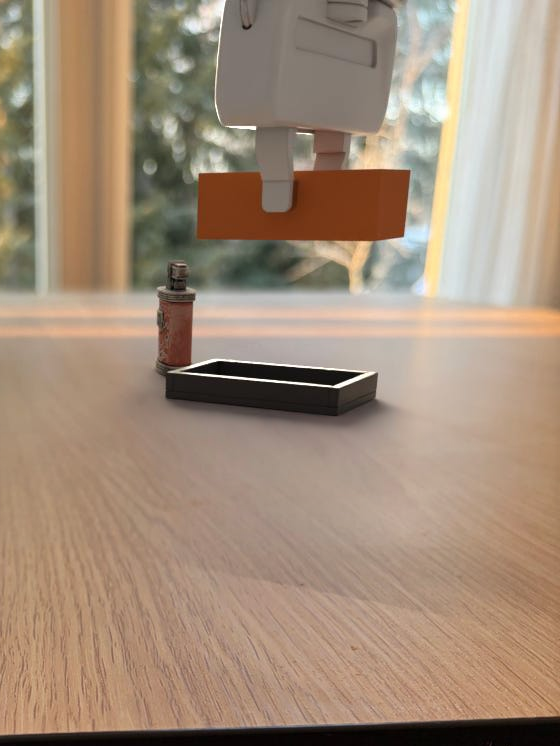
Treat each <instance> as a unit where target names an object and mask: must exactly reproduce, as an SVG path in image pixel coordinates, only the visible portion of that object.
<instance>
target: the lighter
mask: <svg viewBox="0 0 560 746" xmlns="http://www.w3.org/2000/svg"><path fill="white" fill-rule="evenodd" d="M189 271H190V269H189V266H188V265H187V262H186V260H168V261H167V263H166V280H165V286H157V288H156V296H157V298H158V308H157V309H156V326H157V327H158V329H157V331H158V332H157V333H158V336H157V356H156V357H155V370H156V372H158V373H159V374H161V375H164V376H166V372H169V371H173V370H176V369H180V368H184V367H187V366H191V365H194V362H193V360H192V353H193V352H192V351H193V325H194V324H193V323H194V319H193V318H194V302H195V301H196V296H197V295H196V294H197V291H196V290H195V289H194V288H192V287H187V280H189Z"/></svg>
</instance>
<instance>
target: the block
mask: <svg viewBox="0 0 560 746" xmlns="http://www.w3.org/2000/svg"><path fill="white" fill-rule="evenodd" d="M411 173H412V171H411V169H395V168H366V169H365V168H363V169H362V168H361V169H360V168H358V169H357V168H356V169H344V170H313V169H312V170H294V180H293V181H298V195H297V206H296V207H295V209H294V210H293V211H291V212H266V211H264V210H263V208H262V188H263V181H262V179H261V174H260V171H230V172H229V171H228V172H226V171H225V172H199V173H198V176H197V177H198V180H197V208H196V209H197V213H196V239H197V240H219V241H220V240H222V241H224V240H226V241H227V240H228V241H231V240H232V241H303V242H304V241H305V242H306V241H309V242H311V241H313V242H315V241H316V242H319V241H320V242H380V241H386V240H387V241H388V240H394V239H400V238H401V239H402V238H404V237H405V231H406V222H407V211H408V202H409V194H410V193H409V192H410V183H411V182H410V181H411Z"/></svg>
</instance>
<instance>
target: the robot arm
mask: <svg viewBox="0 0 560 746" xmlns="http://www.w3.org/2000/svg"><path fill="white" fill-rule="evenodd" d="M407 3H408V0H224V3H223V8H222V14H221V21H220V28H219V29H220V30H219V39H218V48H217V49H218V51H217V61H216V62H217V63H216V72H215V73H216V74H215V86H214V104H215V109H216V113H217V117H218V120H219V123H220V124H221V125H222V126H223V127H227V128H228V127H229V128H237V129H249V130H255V136H254V137H255V138H254V139H255V140H254V152H255V157H256V161H257V165H258V170H259V172H260V174H261V179H262V181H263V188H262V208H263V210H264V211H266V212H291V211H293V210H294V209H295V207H296V206H297V195H298V181H293V180H294V171H295V169H294V154H293V153H294V152H293V150H296V149H297V143H298V134H301V135H311V136H313V146H312V153H313V154H315V157H314V163H313V166H312V167H313V168H312V170H346V165H347V164H348V160H349V157H350V153H351V142H352V137H353V138H354V137H365V136H366V137H368V136H369V137H370V136H375V135H377V134H378V133H379V132H380V130H381V128H382V126H383V123H384V120H385V117H386V114H387V110H388V105H389V101H390V100H389V99H390V93H391V87H392V80H393V75H394V74H393V72H394V65H395V58H396V52H397V51H396V50H397V40H398V16H397V13H396V11H395V9H399V8H403V7H405V6H406V5H407Z"/></svg>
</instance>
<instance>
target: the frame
mask: <svg viewBox="0 0 560 746" xmlns="http://www.w3.org/2000/svg"><path fill="white" fill-rule="evenodd" d="M378 379H379V372H378V371H365V370H356V369H355V370H353V369H344V368H343V369H341V368H328V367H318V366H308V365H307V366H304V365H296V364H295V365H292V364H282V363H272V362H271V363H269V362H257V361H246V360H244V361H243V360H234V359H221V358H213V359H209V360H206V361H201V362H198V363H195V364H194V363H193V365H191V366H187V367H184V368H180V369H176V370H173V371H169V372H166V375H165V387H164V389H165V392H164V395H165V396H164V397H165V398H167V399H176V400H184V401H185V400H186V401H193V402H194V401H195V402H196V401H197V402H205V403H213V404H214V403H215V404H222V405H223V404H224V405H233V406H240V407H252V408H259V409H271V410H280V411H281V410H282V411H288V412H289V411H290V412H298V413H308V414H319V415H327V416H339V415H342V414H344V413H345V412H348V411H351V410H352V409H354V408H356V407H359V406H360V405H363V404H365V403H367V402H369V401H372V400H374V399H376V397H377V389H378V387H377V386H378V381H379V380H378Z"/></svg>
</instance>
